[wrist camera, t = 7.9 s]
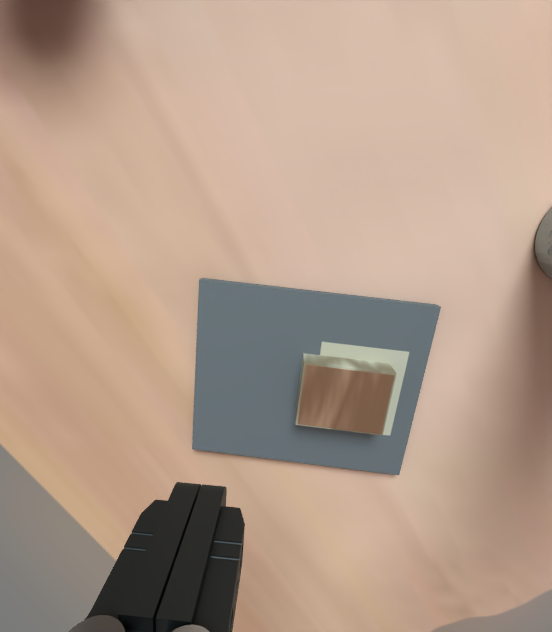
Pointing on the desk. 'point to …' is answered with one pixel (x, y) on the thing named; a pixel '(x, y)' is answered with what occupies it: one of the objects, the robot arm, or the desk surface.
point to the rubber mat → (285, 369)
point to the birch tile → (344, 394)
